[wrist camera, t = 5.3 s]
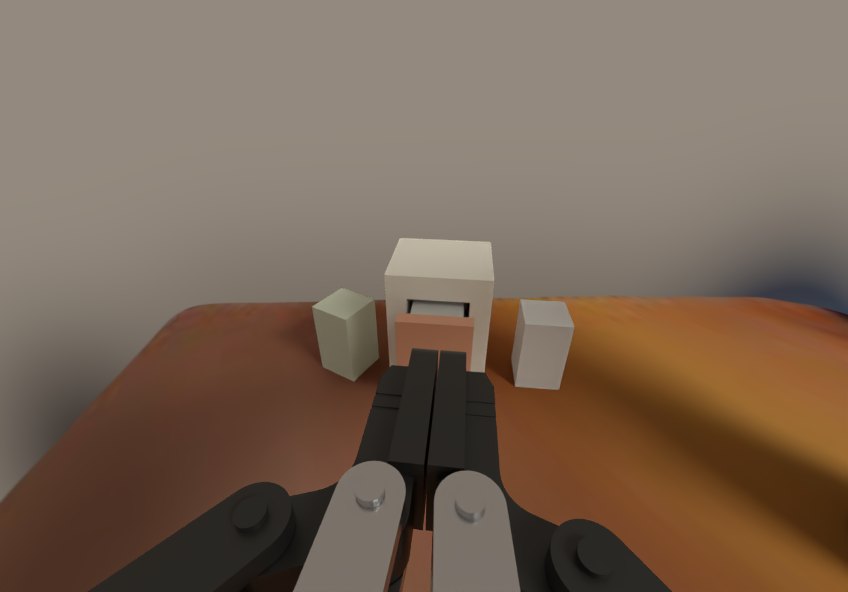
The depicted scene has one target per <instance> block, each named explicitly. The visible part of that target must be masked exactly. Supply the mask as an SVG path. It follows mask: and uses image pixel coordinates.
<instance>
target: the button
mask: <svg viewBox="0 0 848 592" xmlns="http://www.w3.org/2000/svg"><path fill="white" fill-rule="evenodd" d="M395 329H396V351H397V366H408V365H409V360H410V355H411V351H412V348H419V349H432V350H438V367H439V358H440V350H446V351H459V352H466V354H467V355H466V371H470V369H471V357H472V345H473V334H474V318H469V317H464V302H448V301H431V300H414V301H413V305H412V308H411V312H410V314H406V313H398V314H397V317H396V321H395Z"/></svg>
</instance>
